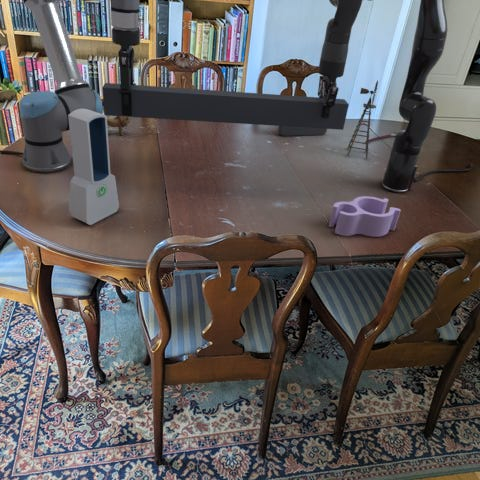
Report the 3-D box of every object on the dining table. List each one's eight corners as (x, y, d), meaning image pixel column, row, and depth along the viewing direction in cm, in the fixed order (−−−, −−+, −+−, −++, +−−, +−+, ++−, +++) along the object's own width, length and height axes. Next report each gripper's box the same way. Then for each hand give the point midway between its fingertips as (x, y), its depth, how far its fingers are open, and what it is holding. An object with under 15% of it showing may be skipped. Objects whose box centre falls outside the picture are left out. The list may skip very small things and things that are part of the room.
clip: (342, 240, 135) (347, 220, 131) (322, 219, 145) (326, 199, 141) (399, 234, 141) (406, 214, 137) (377, 213, 151) (382, 194, 147)
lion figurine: (130, 130, 193) (129, 109, 188) (132, 135, 188) (131, 113, 184) (93, 131, 188) (91, 109, 183) (94, 136, 184) (93, 114, 179)
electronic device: (87, 227, 129) (77, 121, 112) (68, 218, 132) (56, 113, 115) (120, 210, 138) (114, 110, 122) (101, 202, 141) (94, 103, 125)
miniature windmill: (367, 159, 190) (386, 84, 173) (346, 156, 191) (363, 81, 174) (366, 151, 197) (385, 79, 181) (346, 148, 198) (363, 76, 182)
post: (104, 115, 137) (102, 87, 133) (106, 109, 141) (105, 82, 137) (343, 129, 146) (348, 104, 142) (339, 124, 150) (344, 99, 146)
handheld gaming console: (323, 132, 212) (327, 111, 207) (326, 134, 210) (330, 113, 205) (277, 134, 205) (280, 111, 200) (279, 136, 203) (282, 113, 198)
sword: (403, 131, 224) (404, 129, 223) (408, 133, 222) (409, 131, 221) (360, 143, 208) (360, 140, 207) (365, 145, 206) (366, 142, 205)
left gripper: (136, 35, 120) (137, 123, 133) (142, 23, 135) (143, 103, 148) (106, 33, 119) (110, 121, 132) (116, 21, 134) (119, 101, 147)
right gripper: (352, 64, 131) (340, 123, 140) (339, 53, 143) (328, 108, 152) (326, 63, 130) (316, 122, 139) (315, 51, 142) (306, 106, 151)
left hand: (128, 111), depth 140 cm, fingers closed on post, 5 cm apart
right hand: (322, 114), depth 145 cm, fingers closed on post, 5 cm apart
